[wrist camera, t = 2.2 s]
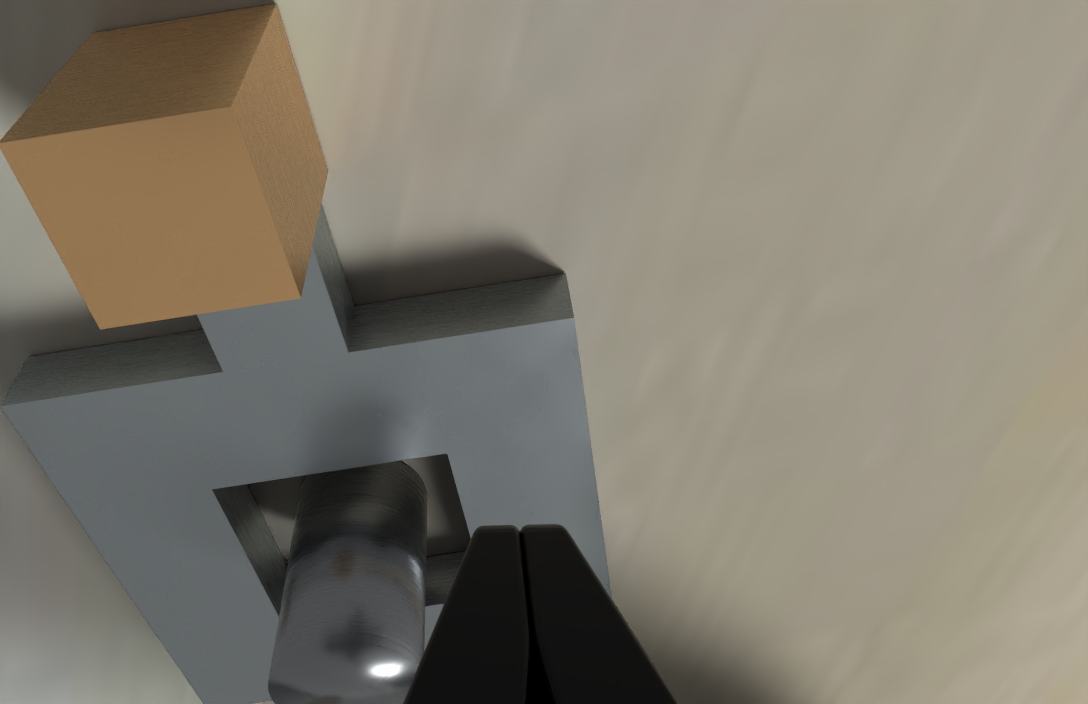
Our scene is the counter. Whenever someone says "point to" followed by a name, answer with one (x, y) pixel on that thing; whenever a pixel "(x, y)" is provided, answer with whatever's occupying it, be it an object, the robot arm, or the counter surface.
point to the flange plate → (259, 343)
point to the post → (353, 589)
